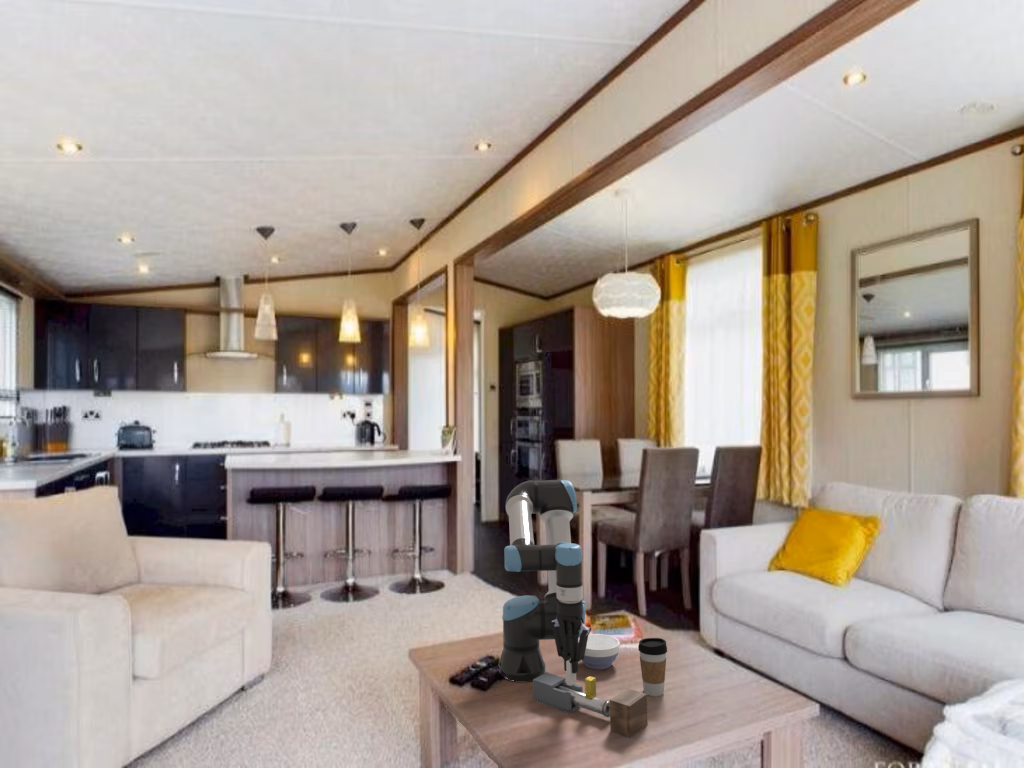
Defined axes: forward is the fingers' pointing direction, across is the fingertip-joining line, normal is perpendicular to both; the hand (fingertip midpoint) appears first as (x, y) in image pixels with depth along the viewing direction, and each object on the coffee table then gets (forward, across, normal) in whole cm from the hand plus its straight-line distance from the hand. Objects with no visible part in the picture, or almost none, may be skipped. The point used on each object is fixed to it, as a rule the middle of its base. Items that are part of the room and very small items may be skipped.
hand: (571, 683), depth 187 cm
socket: (+7, +17, 0) cm, 19 cm away
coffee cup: (+7, +13, +23) cm, 28 cm away
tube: (+7, +1, 0) cm, 7 cm away
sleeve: (+7, -5, 0) cm, 8 cm away
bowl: (+7, -11, +30) cm, 33 cm away
